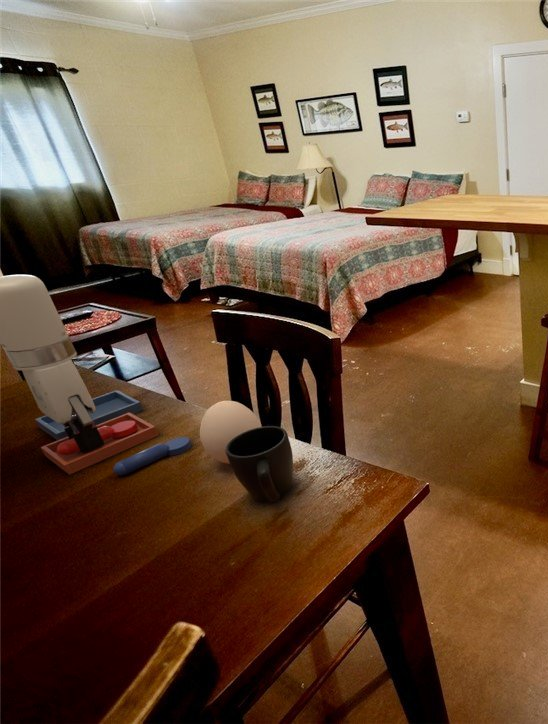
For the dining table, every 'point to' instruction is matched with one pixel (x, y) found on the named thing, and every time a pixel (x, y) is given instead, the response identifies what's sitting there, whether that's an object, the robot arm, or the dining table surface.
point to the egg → (225, 427)
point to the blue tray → (96, 412)
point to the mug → (262, 462)
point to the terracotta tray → (105, 451)
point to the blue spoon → (152, 455)
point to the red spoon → (105, 432)
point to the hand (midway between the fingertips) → (89, 445)
